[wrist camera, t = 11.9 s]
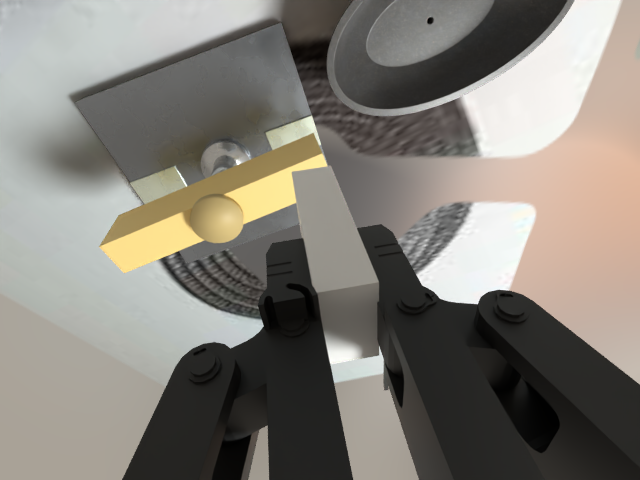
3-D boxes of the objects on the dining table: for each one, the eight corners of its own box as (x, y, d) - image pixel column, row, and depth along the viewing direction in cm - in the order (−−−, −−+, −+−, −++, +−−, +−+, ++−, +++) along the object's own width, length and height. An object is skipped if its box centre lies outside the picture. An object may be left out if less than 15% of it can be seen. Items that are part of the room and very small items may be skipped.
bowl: (538, 32, 36) (585, 37, 31) (340, 127, 39) (354, 147, 34) (531, -123, 30) (589, -148, 24) (292, 4, 32) (299, 5, 27)
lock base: (79, 99, 33) (42, 121, 28) (280, 22, 32) (286, 27, 27) (188, 257, 45) (178, 296, 39) (339, 203, 44) (353, 235, 38)
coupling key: (311, 127, 31) (321, 151, 26) (326, 167, 33) (339, 196, 28) (114, 210, 32) (90, 247, 27) (143, 244, 34) (125, 283, 30)
